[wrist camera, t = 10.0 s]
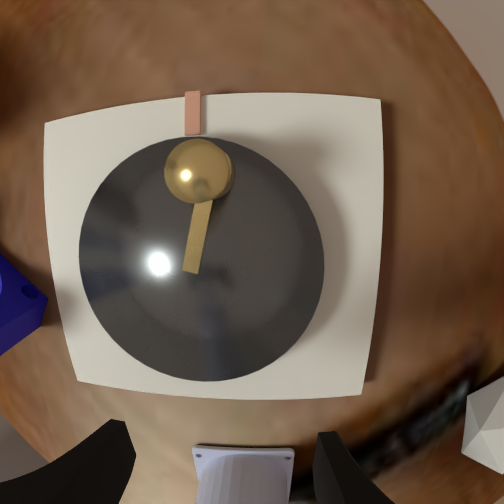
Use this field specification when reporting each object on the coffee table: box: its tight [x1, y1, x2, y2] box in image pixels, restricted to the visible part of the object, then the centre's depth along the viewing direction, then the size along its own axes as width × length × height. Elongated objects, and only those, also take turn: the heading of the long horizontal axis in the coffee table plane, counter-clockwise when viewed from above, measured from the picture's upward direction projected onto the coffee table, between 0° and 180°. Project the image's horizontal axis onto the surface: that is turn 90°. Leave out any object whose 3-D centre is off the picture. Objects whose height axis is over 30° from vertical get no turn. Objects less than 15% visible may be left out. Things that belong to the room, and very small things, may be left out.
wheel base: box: [44, 91, 383, 400], centre depth 17 cm, size 18×20×2 cm
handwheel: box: [79, 136, 325, 382], centre depth 14 cm, size 13×13×4 cm
